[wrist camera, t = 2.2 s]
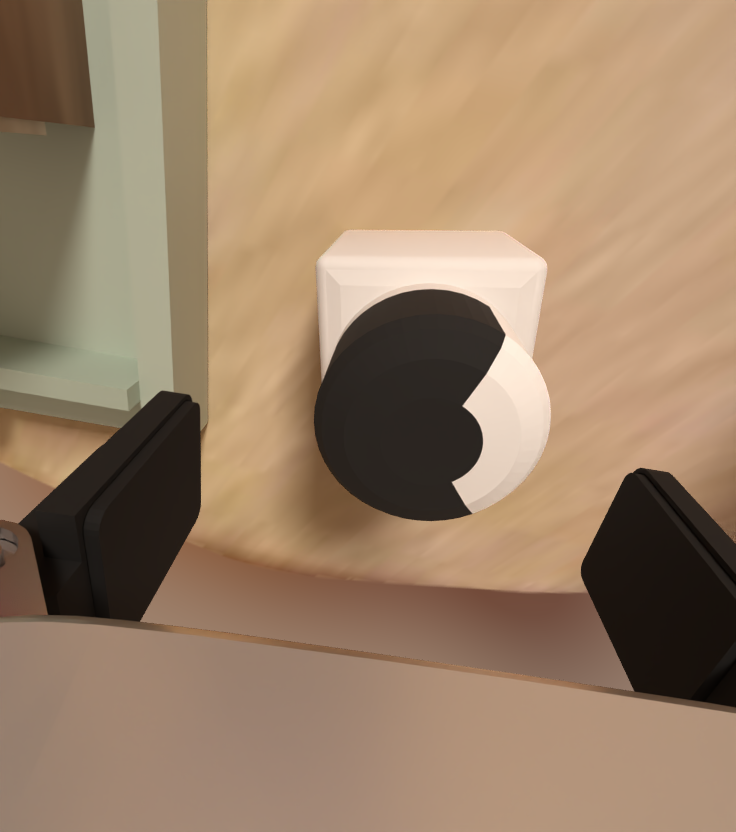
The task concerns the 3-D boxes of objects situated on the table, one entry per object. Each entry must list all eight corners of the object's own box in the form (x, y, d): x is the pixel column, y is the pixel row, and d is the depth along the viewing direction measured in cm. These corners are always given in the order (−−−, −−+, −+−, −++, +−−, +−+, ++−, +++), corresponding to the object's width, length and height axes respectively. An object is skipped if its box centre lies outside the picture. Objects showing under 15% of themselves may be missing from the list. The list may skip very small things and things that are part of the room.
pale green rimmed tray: (206, -78, 16) (132, -168, 12) (208, 421, 26) (166, 474, 21) (-141, -143, 16) (-346, -257, 12) (-12, 383, 26) (-98, 429, 21)
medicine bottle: (345, 379, 24) (297, 547, 13) (341, 228, 21) (273, 294, 10) (487, 383, 24) (554, 559, 13) (507, 229, 20) (617, 300, 10)
